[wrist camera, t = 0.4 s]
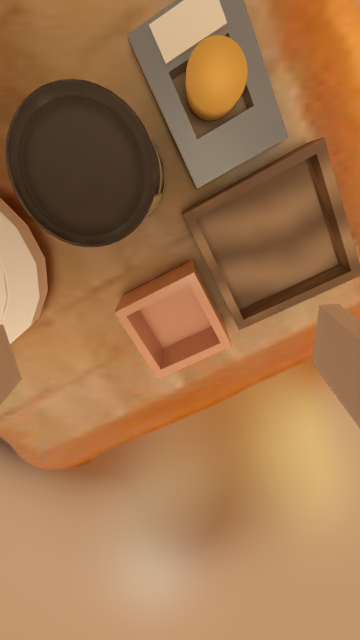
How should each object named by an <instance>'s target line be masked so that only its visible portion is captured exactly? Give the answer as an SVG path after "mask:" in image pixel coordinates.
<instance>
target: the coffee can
mask: <svg viewBox="0 0 360 640" xmlns="http://www.w3.org/2000/svg"><path fill="white" fill-rule="evenodd" d="M6 163H7V170H8V175H9V178H10V182H11V185H12V187H13V190H14V192H15V194H16V196H17V198H18V200H19V202H20V203H21V205H22V207H23V208H24V210H25V211H26V212H27V213H28V215H29V216H30V217H31V218H32V219H33V220H34V221H35V223H36V224H38V225H39V226H40V227H41V228H42V229H44V230H45V231H46V232H47V233H49V234H51V235H52V236H54V237H56V238H57V239H59V240H61V241H64V242H66V243H69V244H72V245H76V246H83V247H100V246H105V245H109V244H112V243H115V242H117V241H119V240H121V239H123V238H125V237H126V236H127V235H129V234H130V233H131V232H133V231H134V230H135V229H136V228H137V227H138V226H139V225H140V223H141V222H142V221H143V219H144V218H146V217H147V216H149V215H150V214H151V213H152V212H153V211H154V210H155V209H156V207H157V206H158V204H159V203H160V201H161V199H162V196H163V194H164V190H165V184H166V171H165V165H164V161H163V158H162V155H161V153H160V151H159V149H158V147H157V146H156V144H155V143H154V142H153V140H152V139H151V138H150V137H149V135H148V133H147V131H146V129H145V127H144V125H143V124H142V122H141V120H140V119H139V117H138V116H137V115H136V113H135V112H134V111H133V110H132V109H131V107H130V106H129V105H128V104H127V103H126V102H125V101H123V100H122V99H121V98H120V97H118V96H117V95H116V94H114V93H113V92H112V91H110V90H108V89H106V88H104V87H102V86H100V85H98V84H95V83H92V82H89V81H85V80H76V79H65V80H58V81H55V82H51V83H48V84H46V85H43V86H41V87H39V88H38V89H36V90H35V91H34V92H32V93H31V94H30V95H29V96H28V97H27V98H26V99H25V100H24V101H23V102H22V103H21V105H20V106H19V107H18V109H17V111H16V112H15V114H14V116H13V118H12V121H11V123H10V127H9V130H8V134H7V139H6Z"/></svg>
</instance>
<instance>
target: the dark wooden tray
mask: <svg viewBox="0 0 360 640" xmlns="http://www.w3.org/2000/svg"><path fill="white" fill-rule="evenodd" d="M182 213H183V217H184V219H185V221H186V223H187V225H188V227H189V229H190V231H191V233H192V235H193V237H194V239H195V241H196V243H197V245H198V247H199V249H200V251H201V253H202V255H203V257H204V259H205V262H206V264H207V266H208V268H209V270H210V272H211V274H212V276H213V278H214V280H215V282H216V284H217V286H218V288H219V290H220V292H221V294H222V296H223V298H224V300H225V302H226V304H227V306H228V308H229V310H230V312H231V314H232V316H233V319H234V321H235V323H236V325H237V327H238V329H239V330H240V329H243V328H245V327H247V326H249V325H252V324H254V323H256V322H258V321H260V320H263V319H265V318H267V317H269V316H272V315H274V314H276V313H278V312H280V311H283V310H285V309H287V308H289V307H292V306H294V305H296V304H298V303H301V302H303V301H305V300H307V299H309V298H312V297H314V296H316V295H318V294H321V293H323V292H325V291H327V290H330V289H332V288H334V287H336V286H338V285H341V284H343V283H345V282H347V281H350V280H352V279H354V278H356V277H358V276H360V264H359V260H358V257H357V253H356V250H355V246H354V243H353V239H352V236H351V232H350V228H349V225H348V221H347V218H346V214H345V211H344V207H343V204H342V200H341V197H340V193H339V189H338V186H337V182H336V179H335V175H334V172H333V168H332V165H331V161H330V158H329V154H328V150H327V147H326V143H325V140H324V137H323V138H320V139H317V140H314V141H311V142H308V143H306V144H304V145H303V146H301V147H299V148H297V149H295V150H294V151H292V152H290V153H288V154H286V155H284V156H283V157H281V158H279V159H277V160H275V161H274V162H272V163H270V164H268V165H266V166H265V167H263V168H261V169H259V170H257V171H255V172H254V173H252V174H250V175H248V176H246V177H245V178H243V179H241V180H239V181H237V182H236V183H234V184H232V185H230V186H228V187H226V188H225V189H223V190H221V191H219V192H217V193H216V194H214V195H212V196H210V197H208V198H207V199H205V200H203V201H201V202H199V203H197V204H196V205H194V206H192V207H190V208H188V209H187V210H185V211H183V212H182Z"/></svg>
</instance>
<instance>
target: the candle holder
mask: <svg viewBox="0 0 360 640" xmlns="http://www.w3.org/2000/svg"><path fill="white" fill-rule="evenodd" d="M47 292H48V285H47V273H46V261H45V257H44V255H43V253H42V252H41V250H40V248H39V246H38V244H37V242H36V240H35V238H34V237H33V235H32V233H31V231H30V229H29V227H28V225H27V224H26V223H25V222H24V221H23V220H22V219H21V218H20V217H19V216H18V215H17V214H16V213H15V212H14V211H13V210H12V209H11V208H10V207H9V206H8V205H7V204H6V203H5V202H4V201H3V200H2V199H1V198H0V325H2V324H3V325H4V328H5V331H6V334H7V337H8V340H9V343H10V344H11V343H12V342H13V341H14V340H15V339H16V338H18V337H19V336H20V335H21V334H22V333H23V332H24V331H25V330H27V329H28V328H29V327H30V326H31V325H32V324H33V323H34V322H35V321H36V320H37V319H39V318H40V314H41V311H42V308H43V305H44V302H45V299H46V296H47Z"/></svg>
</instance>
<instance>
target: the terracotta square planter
mask: <svg viewBox="0 0 360 640" xmlns="http://www.w3.org/2000/svg"><path fill="white" fill-rule="evenodd" d="M114 314H115V315H116V317H117V318H118V320H119V321H120V323H121V324H122V326H123V327H124V329H125V330H126V332H127V333H128V335H129V336H130V338H131V339H132V341H133V342H134V344H135V345H136V347H137V348H138V350H139V351H140V353H141V354H142V356H143V357H144V359H145V360H146V362H147V363H148V365H149V367H150V368H151V370H152V371H153V373H154V374H155V376H156V377H157V379H159V378H161V377H163V376H165V375H168V374H170V373H172V372H175V371H177V370H179V369H181V368H184V367H186V366H188V365H190V364H193V363H195V362H197V361H200V360H202V359H204V358H206V357H209V356H211V355H213V354H215V353H218V352H220V351H222V350H225V349H227V348H229V347H231V346H232V345H231V341H230V338H229V335H228V332H227V329H226V326H225V323H224V321H223V319H222V317H221V315H220V313H219V311H218V310H217V308H216V306H215V304H214V302H213V300H212V298H211V296H210V294H209V292H208V290H207V288H206V286H205V284H204V282H203V280H202V278H201V276H200V274H199V272H198V270H197V268H196V266H195V264H194V262H193V260H190V261H188V262H186V263H184V264H182V265H181V266H179V267H177V268H175V269H173V270H171V271H169V272H167V273H165V274H163V275H161V276H159V277H157V278H155V279H153V280H151V281H149V282H147V283H145V284H144V285H142V286H140V287H138V288H136V289H134V290H132V291H130V292H128V293H126V294H124V295H123V296H122V298H121V300H120V302H119V304H118V306H117V308H116V310H115V312H114Z"/></svg>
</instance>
